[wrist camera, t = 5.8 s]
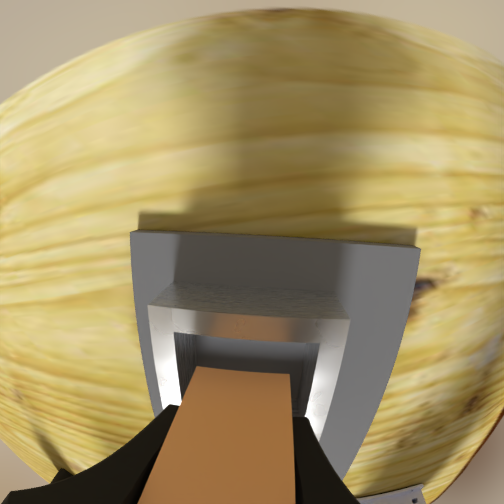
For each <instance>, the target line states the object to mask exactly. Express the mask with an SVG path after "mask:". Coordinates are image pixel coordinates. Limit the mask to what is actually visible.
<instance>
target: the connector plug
mask: <svg viewBox="0 0 504 504" xmlns="http://www.w3.org/2000/svg"><path fill="white" fill-rule="evenodd" d="M138 504H295V471H294V445H293V424H292V405H291V388H290V374H278V373H260V372H246V371H235V370H225V369H216V368H207V367H200V366H197V367H196V369H195V372H194V374H193V376H192V378H191V381H190V383H189V385H188V388H187V390H186V392H185V395H184V397H183V399H182V401H181V404H180V406H179V408H178V411H177V413H176V415H175V418H174V420H173V422H172V425H171V427H170V429H169V432H168V434H167V436H166V439H165V441H164V443H163V446H162V448H161V450H160V452H159V455H158V457H157V459H156V462H155V464H154V466H153V469H152V471H151V474H150V476H149V478H148V481H147V483H146V485H145V488H144V490H143V492H142V495H141V497H140V499H139V502H138Z"/></svg>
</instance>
